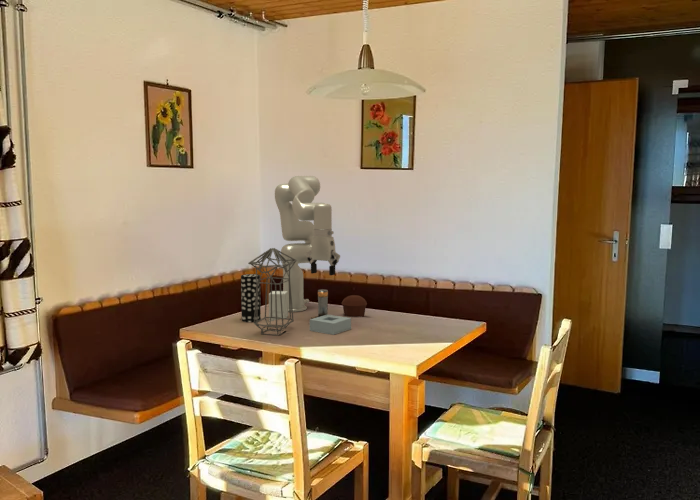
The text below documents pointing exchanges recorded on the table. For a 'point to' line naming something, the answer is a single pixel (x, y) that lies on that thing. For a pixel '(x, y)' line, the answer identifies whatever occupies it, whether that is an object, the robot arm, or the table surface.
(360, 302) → the muffin
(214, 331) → the table surface
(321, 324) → the socket
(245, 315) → the spotted tube
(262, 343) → the table surface
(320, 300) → the pin
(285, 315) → the supplement box
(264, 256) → the geometric lantern
